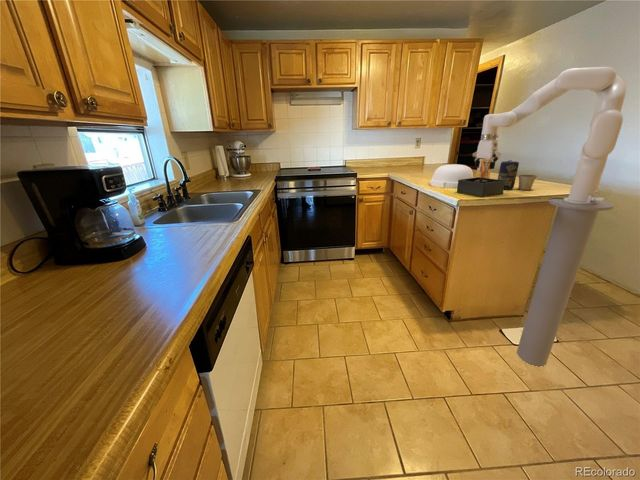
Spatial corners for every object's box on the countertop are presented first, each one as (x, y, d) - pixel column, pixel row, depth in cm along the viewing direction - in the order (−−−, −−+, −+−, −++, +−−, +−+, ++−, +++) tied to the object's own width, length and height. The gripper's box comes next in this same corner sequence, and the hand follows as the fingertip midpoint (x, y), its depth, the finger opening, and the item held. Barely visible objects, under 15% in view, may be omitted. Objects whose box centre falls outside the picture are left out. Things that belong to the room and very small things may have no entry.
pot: (488, 191, 161) (490, 179, 158) (480, 193, 159) (482, 180, 156) (478, 190, 167) (480, 178, 164) (470, 191, 165) (472, 179, 162)
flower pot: (531, 191, 161) (535, 177, 158) (513, 189, 168) (516, 176, 165) (535, 189, 167) (539, 175, 164) (517, 187, 173) (520, 174, 170)
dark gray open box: (502, 193, 158) (505, 180, 155) (481, 197, 152) (483, 183, 150) (476, 189, 174) (478, 177, 171) (456, 192, 168) (458, 179, 165)
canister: (497, 189, 170) (503, 160, 163) (494, 187, 178) (499, 159, 171) (515, 190, 166) (521, 160, 160) (511, 187, 174) (517, 159, 168)
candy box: (486, 178, 212) (489, 158, 207) (489, 179, 208) (493, 158, 203) (475, 178, 212) (478, 159, 207) (478, 179, 208) (481, 159, 203)
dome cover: (439, 180, 215) (442, 162, 210) (480, 182, 195) (484, 163, 190) (421, 185, 195) (423, 166, 190) (465, 189, 174) (468, 167, 169)
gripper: (508, 136, 145) (502, 168, 151) (479, 137, 160) (475, 167, 166) (498, 137, 143) (493, 170, 149) (470, 138, 158) (466, 168, 164)
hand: (483, 168), depth 158 cm, fingers open, 9 cm apart
